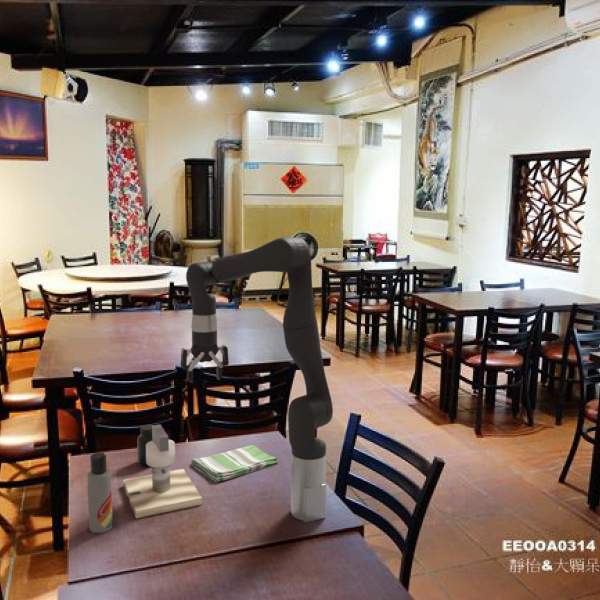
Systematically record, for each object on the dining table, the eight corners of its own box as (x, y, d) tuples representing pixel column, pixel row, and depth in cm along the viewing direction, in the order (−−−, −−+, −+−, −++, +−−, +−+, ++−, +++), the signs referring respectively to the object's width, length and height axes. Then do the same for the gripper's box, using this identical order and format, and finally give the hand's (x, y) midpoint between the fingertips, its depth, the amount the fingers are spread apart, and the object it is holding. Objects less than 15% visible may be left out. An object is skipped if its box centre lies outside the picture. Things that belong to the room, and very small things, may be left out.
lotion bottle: (116, 527, 152) (114, 454, 149) (96, 536, 148) (93, 461, 145) (105, 519, 156) (102, 447, 153) (85, 527, 152) (81, 454, 149)
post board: (201, 504, 165) (201, 470, 163) (136, 518, 157) (134, 483, 155) (183, 474, 183) (183, 444, 181) (123, 485, 175) (122, 454, 173)
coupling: (179, 465, 165) (178, 435, 164) (150, 470, 162) (149, 439, 161) (170, 452, 174) (169, 423, 173) (143, 456, 171) (142, 427, 170)
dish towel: (189, 465, 190) (189, 455, 190) (249, 448, 205) (249, 438, 204) (216, 485, 177) (216, 474, 177) (279, 465, 191) (279, 455, 191)
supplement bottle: (156, 467, 187) (155, 431, 185) (135, 467, 187) (134, 431, 185) (161, 458, 194) (161, 423, 192) (141, 458, 194) (140, 423, 192)
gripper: (183, 332, 171) (184, 386, 174) (231, 329, 177) (231, 381, 179) (178, 327, 178) (179, 379, 180) (223, 324, 184) (224, 375, 186)
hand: (205, 380), depth 180 cm, fingers open, 8 cm apart
